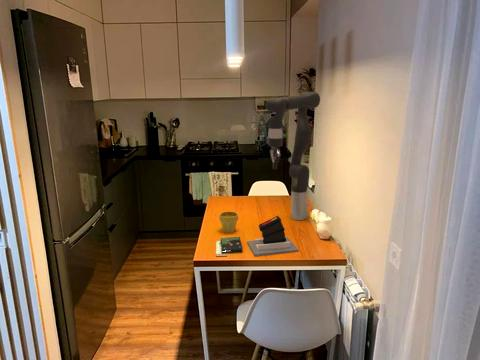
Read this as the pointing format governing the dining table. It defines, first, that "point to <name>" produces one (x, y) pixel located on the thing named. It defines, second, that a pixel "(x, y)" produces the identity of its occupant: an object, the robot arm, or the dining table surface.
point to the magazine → (272, 231)
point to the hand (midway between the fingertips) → (275, 168)
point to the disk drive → (231, 245)
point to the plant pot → (228, 221)
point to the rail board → (271, 247)
